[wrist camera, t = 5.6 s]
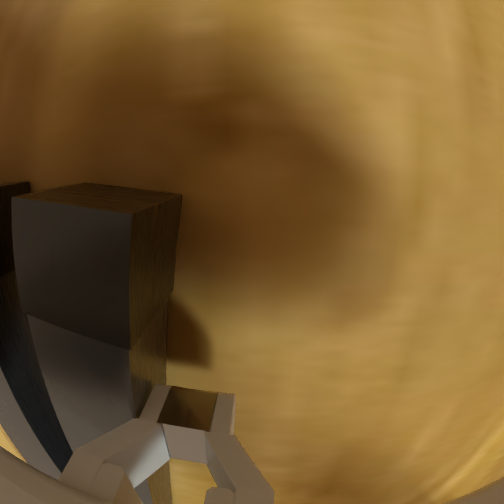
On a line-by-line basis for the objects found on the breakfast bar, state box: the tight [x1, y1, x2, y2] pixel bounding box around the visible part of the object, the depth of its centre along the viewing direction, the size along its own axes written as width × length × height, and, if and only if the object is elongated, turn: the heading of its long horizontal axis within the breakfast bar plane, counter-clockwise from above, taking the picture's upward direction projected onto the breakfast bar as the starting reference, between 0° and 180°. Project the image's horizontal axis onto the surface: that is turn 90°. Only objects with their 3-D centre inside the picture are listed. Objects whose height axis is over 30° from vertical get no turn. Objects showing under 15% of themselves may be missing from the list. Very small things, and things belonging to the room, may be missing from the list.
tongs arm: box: [11, 183, 182, 504], centre depth 9 cm, size 22×3×3 cm, turn 170°
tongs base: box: [0, 181, 73, 480], centre depth 10 cm, size 27×6×3 cm, turn 176°
